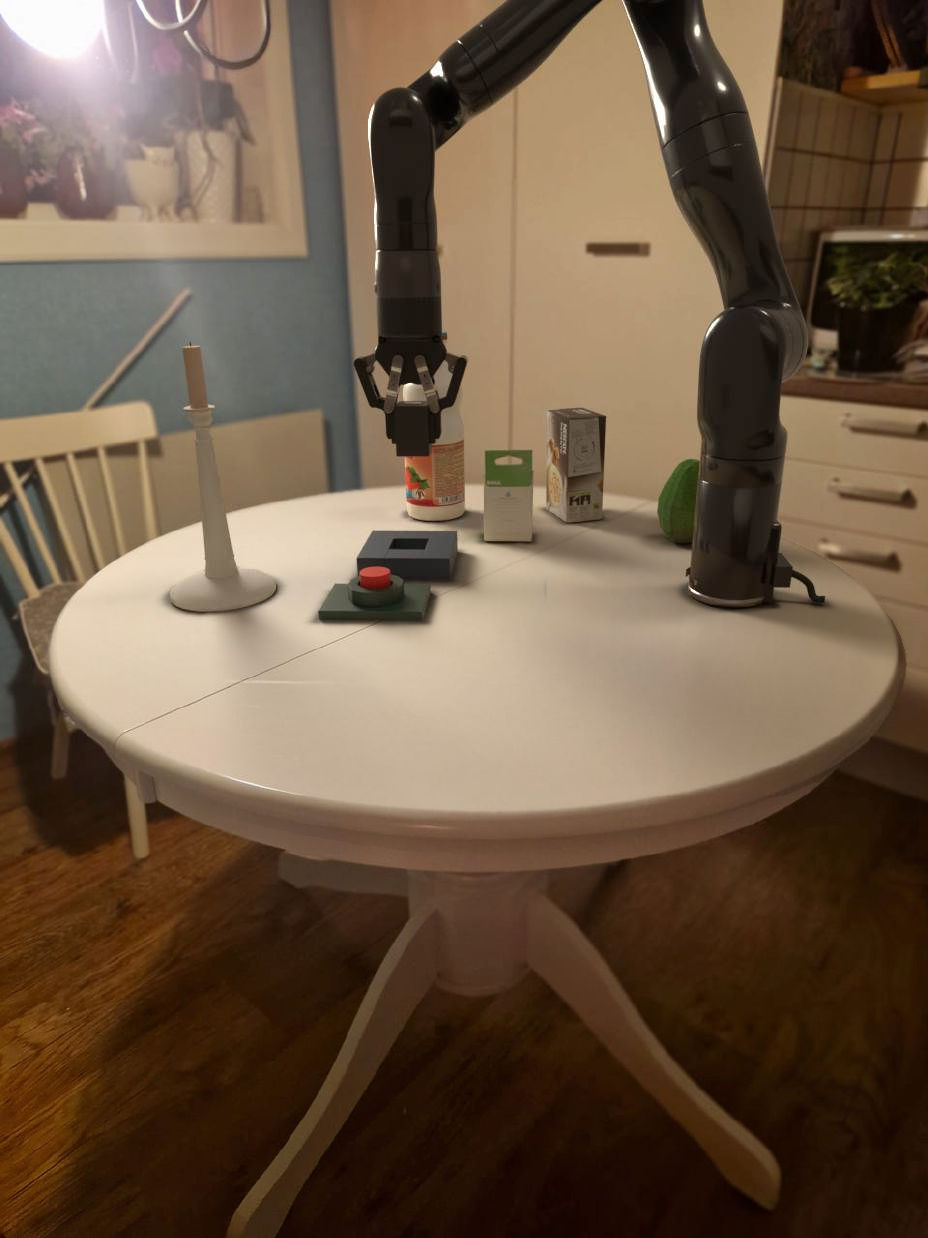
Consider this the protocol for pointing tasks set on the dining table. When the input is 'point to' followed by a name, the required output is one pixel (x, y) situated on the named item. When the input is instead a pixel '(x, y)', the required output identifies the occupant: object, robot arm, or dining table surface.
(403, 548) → the square socket block
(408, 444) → the block
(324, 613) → the red push button plate
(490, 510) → the ink box
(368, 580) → the power button
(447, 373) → the fruit juice
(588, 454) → the coffee box
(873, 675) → the dining table surface
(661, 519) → the avocado
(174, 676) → the dining table surface
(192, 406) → the candlestick
